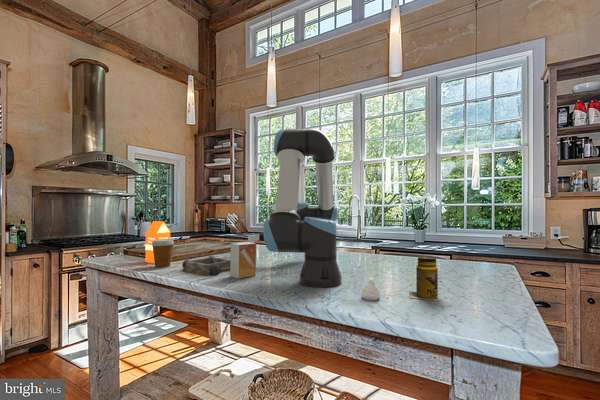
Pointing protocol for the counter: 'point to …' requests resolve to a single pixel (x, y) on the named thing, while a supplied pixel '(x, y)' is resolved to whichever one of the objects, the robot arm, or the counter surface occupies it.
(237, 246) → the small box
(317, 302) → the counter surface
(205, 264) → the dark square tray
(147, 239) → the orange juice
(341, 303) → the counter surface
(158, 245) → the disposable coffee cup
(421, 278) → the condiment
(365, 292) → the garlic bulb
